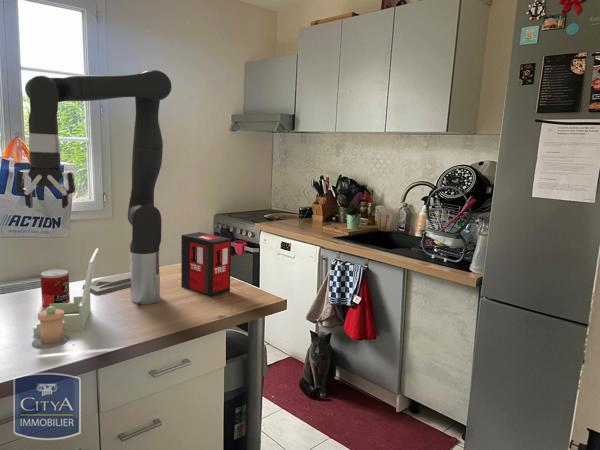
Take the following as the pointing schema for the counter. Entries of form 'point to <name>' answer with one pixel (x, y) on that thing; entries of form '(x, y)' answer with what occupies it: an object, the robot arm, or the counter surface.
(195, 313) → the counter surface
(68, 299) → the canned food
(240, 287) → the counter surface
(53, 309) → the terracotta pot
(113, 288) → the soap mold
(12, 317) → the counter surface
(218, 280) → the cleaning product box
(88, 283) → the glass lid
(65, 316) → the box
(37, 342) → the slate saucer
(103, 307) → the counter surface
